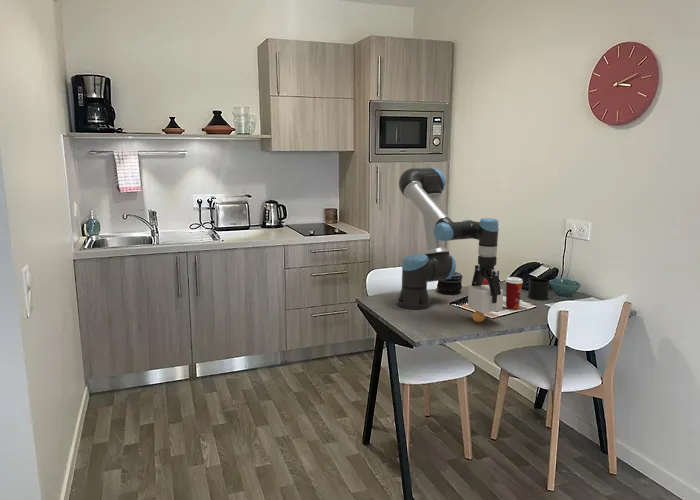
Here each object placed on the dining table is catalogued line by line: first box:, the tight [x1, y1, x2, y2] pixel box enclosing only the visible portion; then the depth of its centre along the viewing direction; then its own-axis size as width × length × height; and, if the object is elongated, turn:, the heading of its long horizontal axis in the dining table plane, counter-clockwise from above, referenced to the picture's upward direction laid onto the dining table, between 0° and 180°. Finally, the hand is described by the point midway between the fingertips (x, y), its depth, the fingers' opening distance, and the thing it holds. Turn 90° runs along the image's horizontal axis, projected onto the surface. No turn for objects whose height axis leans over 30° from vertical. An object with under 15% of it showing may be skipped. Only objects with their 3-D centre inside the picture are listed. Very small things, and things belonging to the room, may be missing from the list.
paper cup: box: [505, 276, 524, 311], centre depth 244 cm, size 8×8×14 cm
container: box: [436, 271, 464, 296], centre depth 271 cm, size 13×13×10 cm
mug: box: [527, 277, 550, 301], centre depth 263 cm, size 9×12×9 cm
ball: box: [472, 310, 485, 323], centre depth 224 cm, size 5×5×5 cm
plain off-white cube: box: [467, 285, 504, 314], centre depth 223 cm, size 10×10×9 cm
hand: (484, 306), depth 224 cm, fingers closed on plain off-white cube, 10 cm apart
